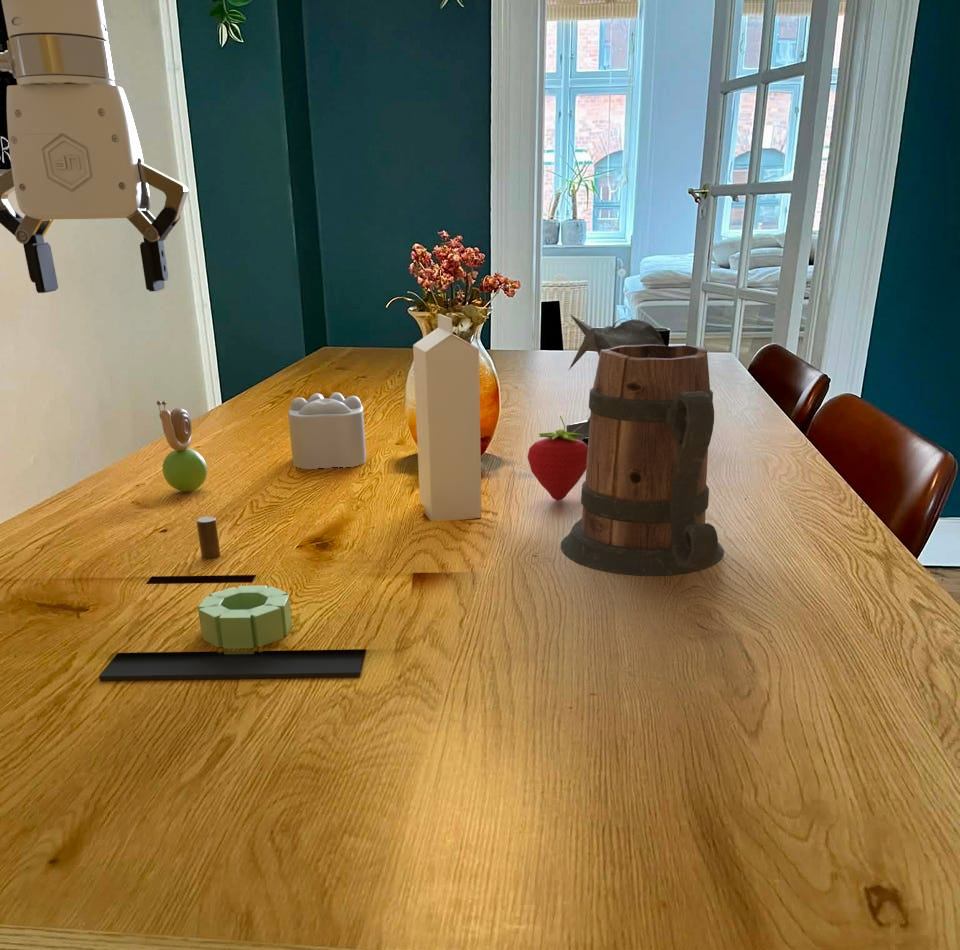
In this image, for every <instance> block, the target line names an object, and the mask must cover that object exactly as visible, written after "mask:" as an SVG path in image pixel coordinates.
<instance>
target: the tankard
mask: <svg viewBox="0 0 960 950" xmlns="http://www.w3.org/2000/svg"><path fill="white" fill-rule="evenodd" d="M708 358H709V357H708V350H707V348H704V347H702V346H698V345H665V346H662V345H624V346H617V347H613V348H610V349H603V350H601V351H600V356H599V355H598V361H597V367H596V370H595V377H594V380H593V386H592V387H591V388H590V389H589V398H588V409H589V410H590V415H589V417H590V426H589V437H588V440H587V441H588V442H587V446H588V453H587V466H586V470H585V480H584V481H583V482H582V483H581V496H580V504H581V505H582V512H581V518H580V519H579V520H577V521H576V522H575V523H574V524H573V526H572V527H571V529H570V532H569V533H568V534H567V535H566V536H565V537H563V539H562V540H561V542H560V549H561V552H562V553H563V554H564V555H565V556H566V557H567V558H569V559H570V560H571V561H574V562H575V563H578V564H580V565H583V566H585V567H588V568H591V569H594V570H599V571H603V572H607V573H614V574H619V575H630V576H631V575H632V576H652V577H655V576H656V577H657V576H658V577H659V576H674V575H681V574H688V573H692V572H696V571H701V570H704V569H706V568H709V567H711V566H713V565H715V564H716V563H719V561H720V560H721V559H722V558H723V557H724V552H725V551H724V548H723V545H722V544H721V543H720V542H719V538H718V533H717V530H716V528H715V526H714V525H712V524H711V523H710V522H709V523H708V522H706V510H707V509H708V508H709V500H710V499H709V497H710V488H709V485H707V480H708V479H707V478H708V456H709V446H710V444H711V440H712V435H713V433H714V424H715V407H714V392H713V390H712V389H711V384H710V382H711V381H710V370H709V369H710V368H709V359H708Z"/></svg>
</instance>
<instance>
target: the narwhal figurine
mask: <svg viewBox="0 0 960 950" xmlns="http://www.w3.org/2000/svg"><path fill="white" fill-rule="evenodd" d="M570 317H571V318H572V320H573V321H574V322H575V324H576V326H577V327H578V328H579V330H580V331H581V332H582V333H583V336H585V337H584V338H583V340H582V343H581V344H580V347H579V349H578V350H577V352H576V354H575V356H574V359H573V360H572V362H571V364H570V366H569V368H568V370H567V371H570V370H571V369H572V367H573V366H575V364H577V362H578V361H579V360H580V359H581V358H582V357H583V356H584V355H585V353H586V352H588V351H589V352H596V353H597V355H598V357H599V356H600V351H601V350H603V349H610V348H613V347H617V346H624V345H662V346H666V344H665V341H664V339H663V338H662V336H661V334H660V332H659V331H658V330H657V329H656V328H655V327H654V326H653V325H652V324H651V323H650V322H647V321H645V320H642V319H641V320H640V319H637V318H633V319H632V318H631V319H628V320H625V321H623V322H620V324H619V325H617V326H615V327H614V326H611V325H609V326H608V325H607V326H604V327H603V326H601V327H595V326H594V327H592V326H591V325H589V324H588V323H586V322H583V321H582V320H580V319H579V318H576V317H575V316H574V315H572V314H570ZM589 426H590V416H589V418H588V419H587V420H582V421H579V422H575V423H571V424H567V425H566V428H565V431H566V432H569V433H570V432H571V433H577V434H583V436H574V437H573V438H574V439H577V440H581V441H583V440H584V439H586V438H589Z"/></svg>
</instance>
